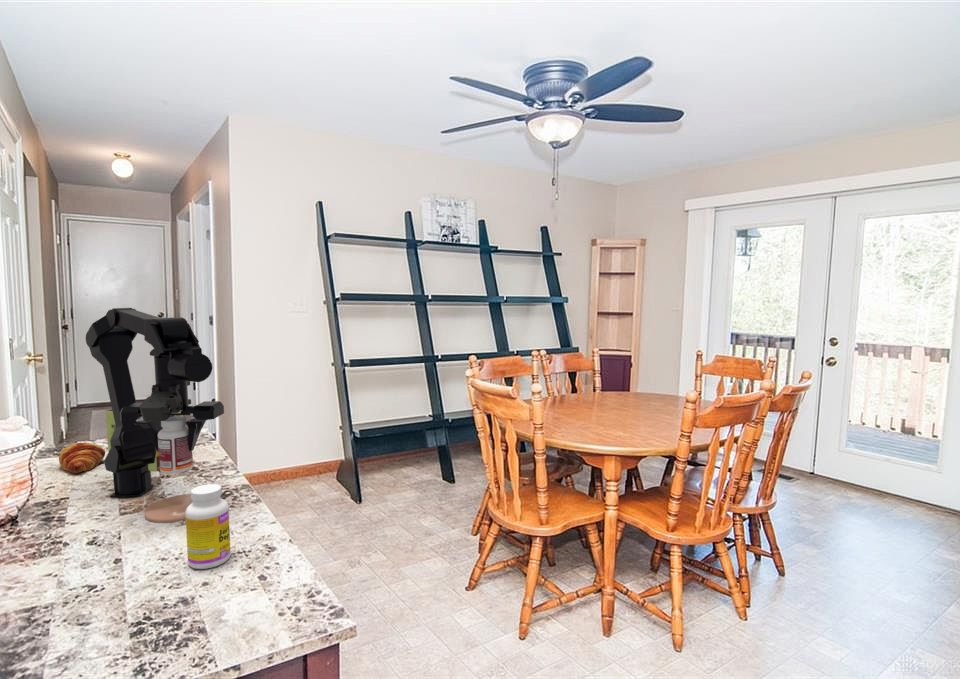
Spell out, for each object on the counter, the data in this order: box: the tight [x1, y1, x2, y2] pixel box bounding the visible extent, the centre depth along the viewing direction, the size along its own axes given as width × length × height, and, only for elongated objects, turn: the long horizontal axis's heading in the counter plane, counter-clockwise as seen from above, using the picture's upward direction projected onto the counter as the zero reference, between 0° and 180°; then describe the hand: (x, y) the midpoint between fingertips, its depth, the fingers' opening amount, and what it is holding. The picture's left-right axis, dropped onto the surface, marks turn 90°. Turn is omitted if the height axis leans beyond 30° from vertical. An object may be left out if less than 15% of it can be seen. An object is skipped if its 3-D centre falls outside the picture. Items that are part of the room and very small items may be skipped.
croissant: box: [58, 442, 106, 474], centre depth 146 cm, size 21×10×8 cm, turn 33°
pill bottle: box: [158, 415, 194, 475], centre depth 114 cm, size 6×6×11 cm
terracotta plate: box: [143, 493, 193, 524], centre depth 116 cm, size 13×13×1 cm
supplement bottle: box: [185, 483, 232, 570], centre depth 93 cm, size 7×7×13 cm
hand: (175, 451), depth 114 cm, fingers closed on pill bottle, 6 cm apart
